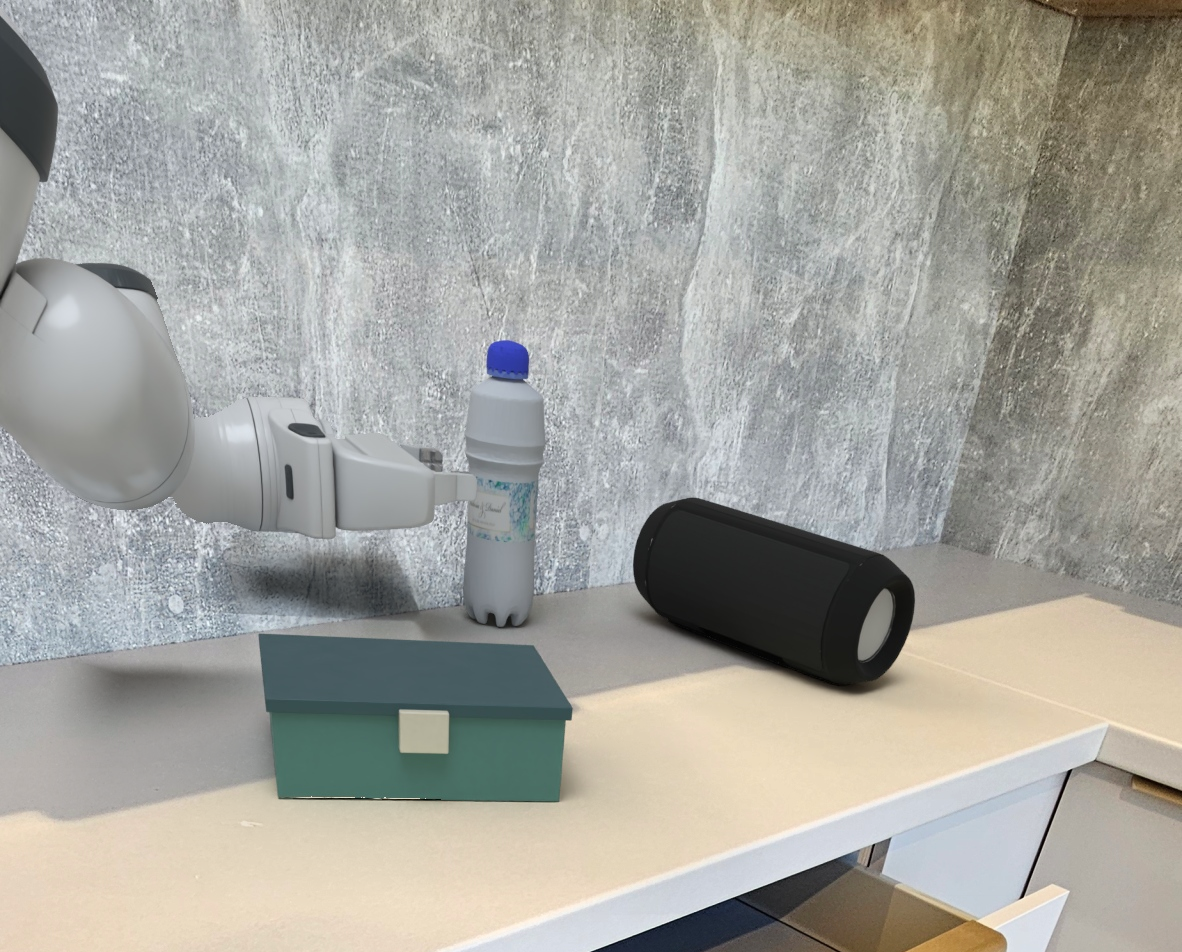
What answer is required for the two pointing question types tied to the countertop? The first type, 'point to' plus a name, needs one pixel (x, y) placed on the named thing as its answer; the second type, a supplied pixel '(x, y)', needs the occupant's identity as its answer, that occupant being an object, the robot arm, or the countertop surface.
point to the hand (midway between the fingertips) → (456, 473)
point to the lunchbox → (412, 719)
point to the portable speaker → (774, 590)
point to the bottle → (503, 487)
